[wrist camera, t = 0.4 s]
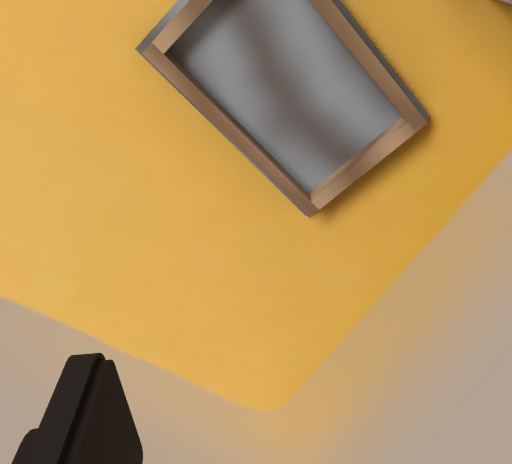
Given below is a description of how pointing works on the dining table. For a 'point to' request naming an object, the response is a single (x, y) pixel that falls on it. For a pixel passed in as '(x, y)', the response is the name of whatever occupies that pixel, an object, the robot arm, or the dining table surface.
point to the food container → (507, 1)
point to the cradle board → (288, 88)
